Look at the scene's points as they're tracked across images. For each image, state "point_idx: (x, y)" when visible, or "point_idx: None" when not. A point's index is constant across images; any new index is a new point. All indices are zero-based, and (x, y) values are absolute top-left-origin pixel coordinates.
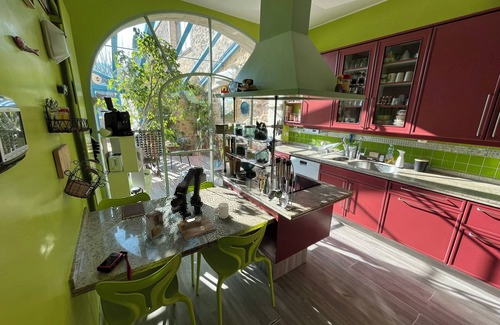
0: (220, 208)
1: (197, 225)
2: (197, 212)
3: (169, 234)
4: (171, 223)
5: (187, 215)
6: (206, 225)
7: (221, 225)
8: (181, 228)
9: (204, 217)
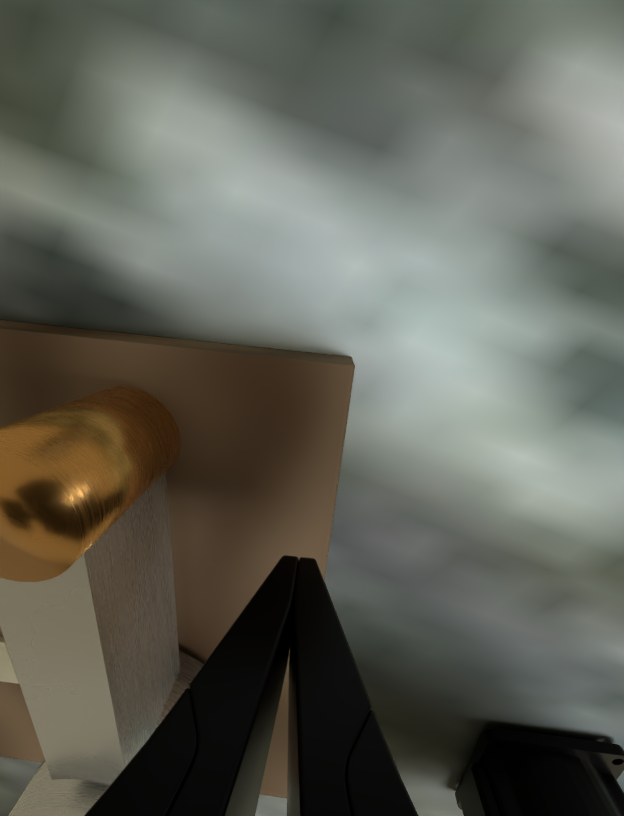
0: None
1: None
2: (482, 803)
3: (74, 26)
4: (575, 284)
5: None
6: (22, 712)
7: (25, 775)
8: (95, 381)
9: (263, 783)
